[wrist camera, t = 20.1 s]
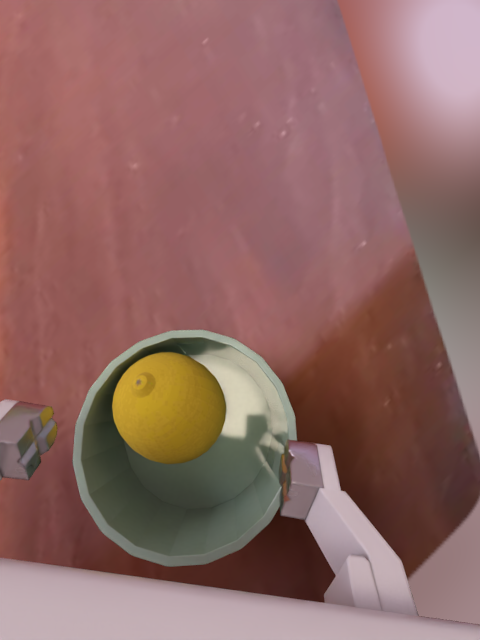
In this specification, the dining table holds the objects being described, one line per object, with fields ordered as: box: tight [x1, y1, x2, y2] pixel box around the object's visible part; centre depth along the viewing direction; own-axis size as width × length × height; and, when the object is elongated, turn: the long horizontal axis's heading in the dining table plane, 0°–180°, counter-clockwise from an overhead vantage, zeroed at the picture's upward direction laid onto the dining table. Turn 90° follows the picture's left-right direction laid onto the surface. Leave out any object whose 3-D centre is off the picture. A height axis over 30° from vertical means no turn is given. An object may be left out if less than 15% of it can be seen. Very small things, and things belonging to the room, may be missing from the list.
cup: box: [73, 330, 297, 567], centre depth 19 cm, size 10×10×7 cm
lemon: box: [112, 352, 226, 464], centre depth 18 cm, size 6×6×8 cm
